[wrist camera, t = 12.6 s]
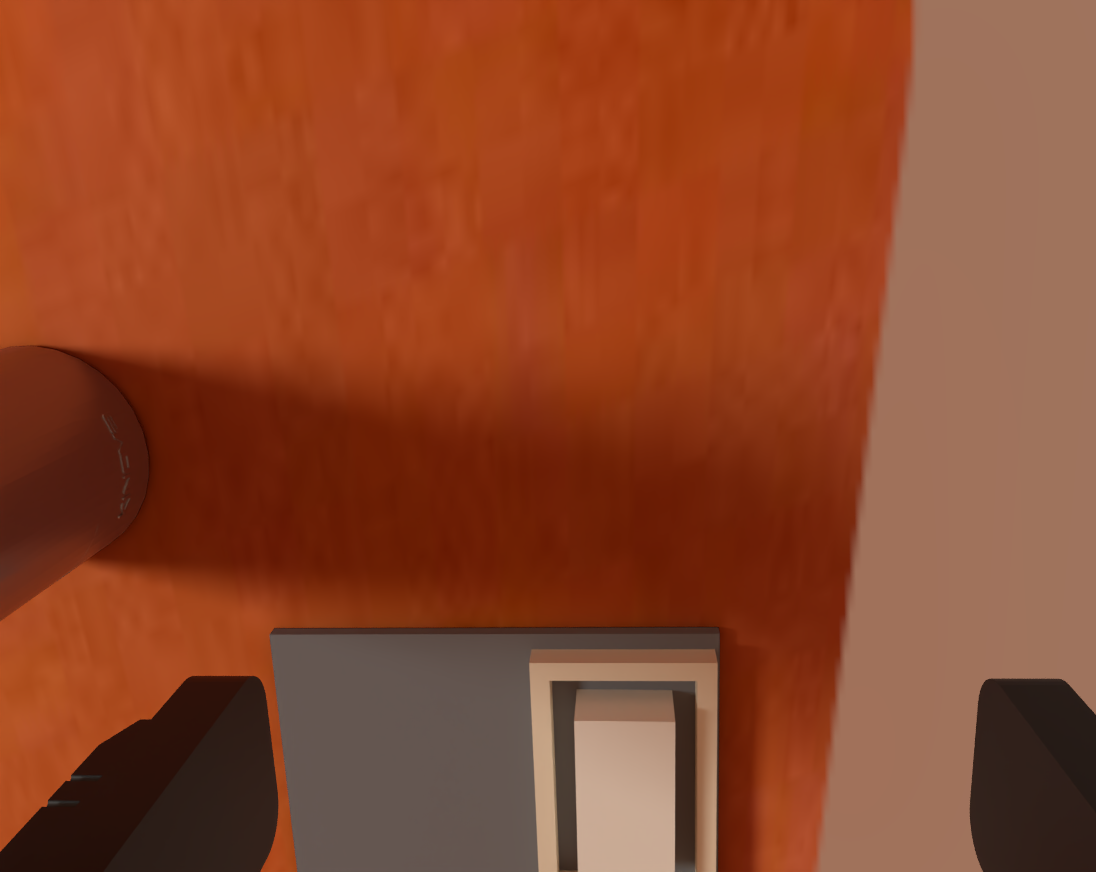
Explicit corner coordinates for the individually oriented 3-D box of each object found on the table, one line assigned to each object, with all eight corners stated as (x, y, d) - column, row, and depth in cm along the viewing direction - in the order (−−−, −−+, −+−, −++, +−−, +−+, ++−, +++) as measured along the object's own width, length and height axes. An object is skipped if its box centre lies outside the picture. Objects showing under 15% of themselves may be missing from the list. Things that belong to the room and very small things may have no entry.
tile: (576, 689, 41) (574, 720, 39) (671, 690, 41) (675, 722, 39) (580, 852, 43) (578, 891, 41) (671, 854, 43) (674, 894, 41)
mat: (312, 956, 46) (300, 986, 45) (274, 628, 42) (259, 647, 40) (715, 966, 45) (719, 997, 43) (718, 627, 41) (722, 647, 39)
